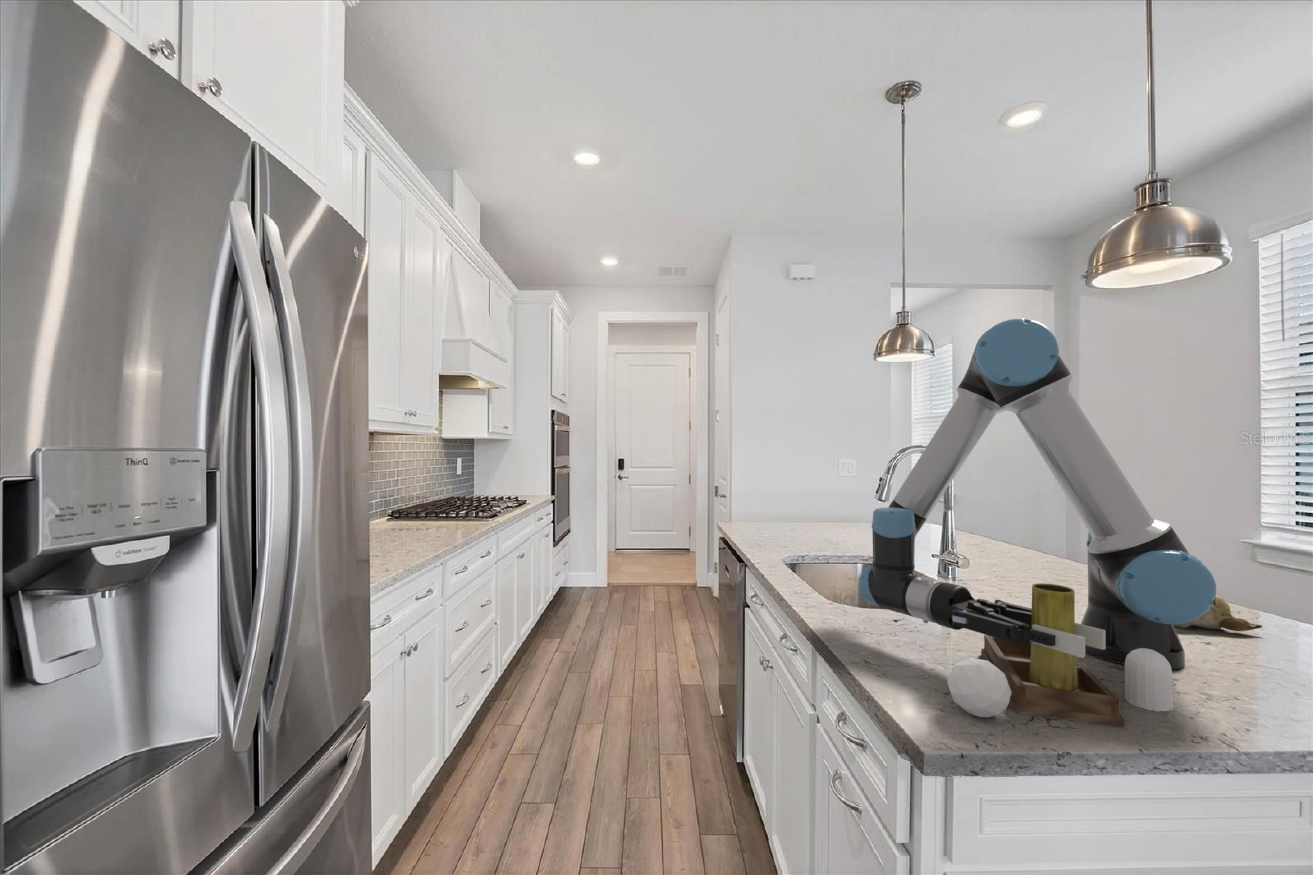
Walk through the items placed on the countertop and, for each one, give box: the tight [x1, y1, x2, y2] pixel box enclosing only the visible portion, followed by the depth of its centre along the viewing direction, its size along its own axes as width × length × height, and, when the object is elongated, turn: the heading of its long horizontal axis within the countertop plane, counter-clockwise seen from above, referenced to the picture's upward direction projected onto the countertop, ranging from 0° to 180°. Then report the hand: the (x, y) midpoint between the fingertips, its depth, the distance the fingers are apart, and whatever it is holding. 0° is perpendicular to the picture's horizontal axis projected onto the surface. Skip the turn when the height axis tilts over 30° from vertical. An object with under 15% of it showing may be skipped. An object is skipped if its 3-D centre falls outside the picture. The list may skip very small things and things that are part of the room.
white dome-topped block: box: [1124, 648, 1174, 712], centre depth 83 cm, size 5×5×8 cm
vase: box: [1029, 582, 1079, 691], centre depth 84 cm, size 6×6×14 cm
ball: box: [946, 657, 1012, 719], centre depth 80 cm, size 8×8×8 cm
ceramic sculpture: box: [1173, 595, 1263, 632], centre depth 118 cm, size 11×9×15 cm
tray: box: [980, 634, 1126, 728], centre depth 89 cm, size 13×23×4 cm, turn 160°
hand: (1093, 643), depth 80 cm, fingers closed on vase, 5 cm apart
